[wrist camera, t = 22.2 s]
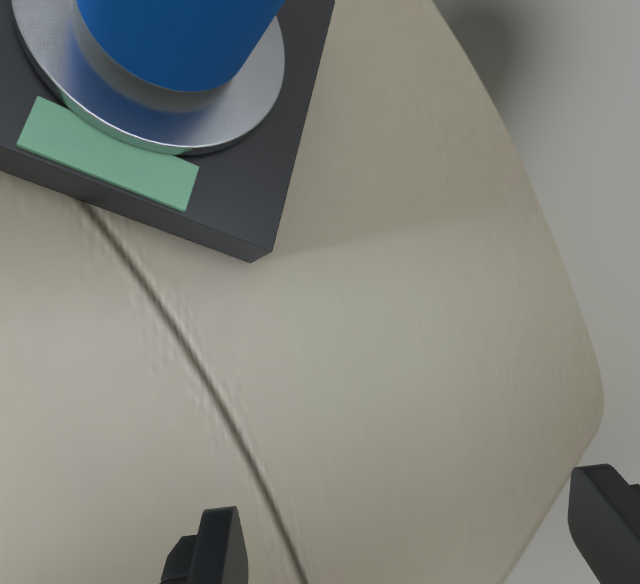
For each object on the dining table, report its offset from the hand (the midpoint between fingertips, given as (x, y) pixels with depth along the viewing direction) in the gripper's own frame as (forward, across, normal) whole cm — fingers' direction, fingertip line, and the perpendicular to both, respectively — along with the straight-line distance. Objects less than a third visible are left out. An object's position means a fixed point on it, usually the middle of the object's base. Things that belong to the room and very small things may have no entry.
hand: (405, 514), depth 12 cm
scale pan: (+13, +7, -13) cm, 20 cm away
